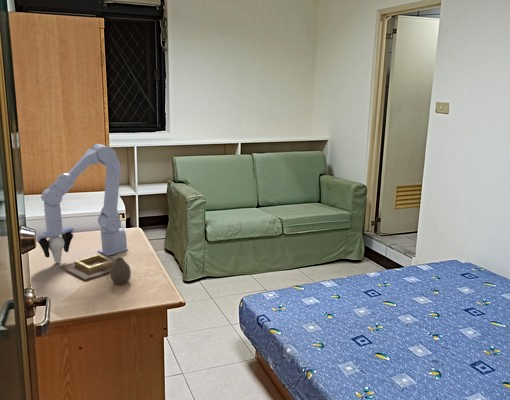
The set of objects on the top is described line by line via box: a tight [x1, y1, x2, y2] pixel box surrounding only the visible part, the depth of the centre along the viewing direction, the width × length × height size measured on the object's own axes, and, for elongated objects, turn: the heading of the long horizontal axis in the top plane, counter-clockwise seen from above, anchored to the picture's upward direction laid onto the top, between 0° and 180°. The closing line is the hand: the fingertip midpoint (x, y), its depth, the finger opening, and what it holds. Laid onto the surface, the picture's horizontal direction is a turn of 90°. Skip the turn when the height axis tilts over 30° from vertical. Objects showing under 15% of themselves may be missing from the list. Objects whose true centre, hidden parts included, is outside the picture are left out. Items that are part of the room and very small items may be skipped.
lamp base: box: [59, 253, 117, 282], centre depth 186 cm, size 18×18×1 cm
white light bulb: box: [47, 235, 65, 264], centre depth 189 cm, size 6×6×11 cm
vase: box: [109, 257, 131, 286], centre depth 172 cm, size 7×7×9 cm
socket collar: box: [74, 253, 114, 273], centre depth 186 cm, size 10×10×2 cm
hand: (56, 254), depth 190 cm, fingers open, 7 cm apart
